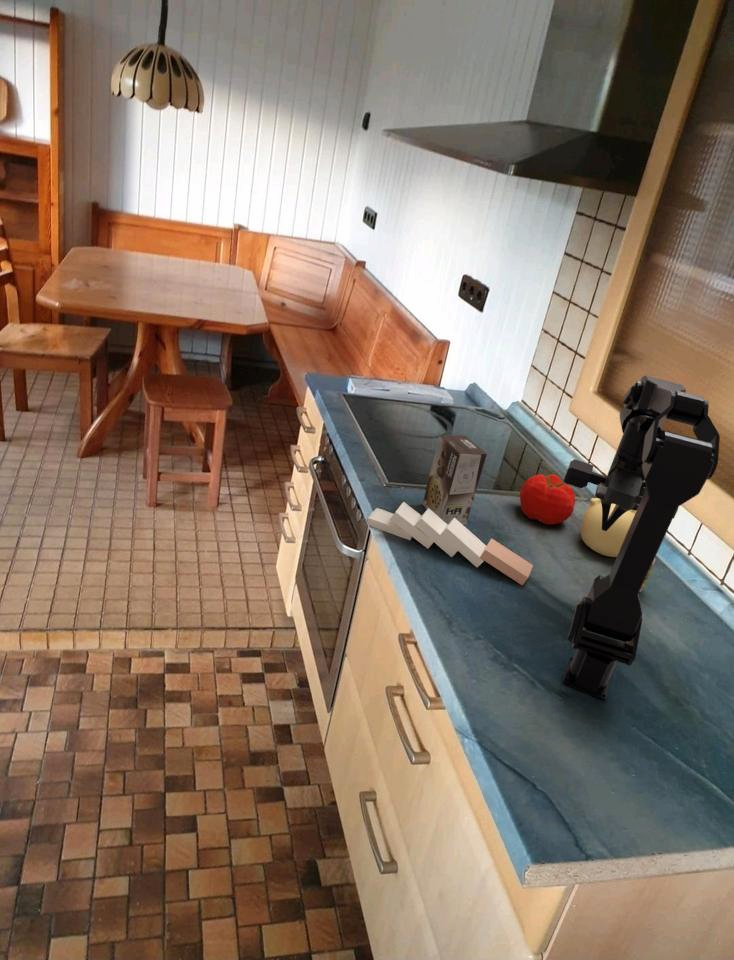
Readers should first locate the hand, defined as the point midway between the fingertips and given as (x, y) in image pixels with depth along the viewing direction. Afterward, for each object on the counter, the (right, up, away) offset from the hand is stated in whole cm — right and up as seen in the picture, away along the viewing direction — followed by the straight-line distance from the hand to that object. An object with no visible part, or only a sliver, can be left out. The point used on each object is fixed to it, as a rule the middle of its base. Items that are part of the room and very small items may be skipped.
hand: (604, 529), depth 124 cm
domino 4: (-20, -6, +6) cm, 22 cm away
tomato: (-4, +1, +29) cm, 29 cm away
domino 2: (-29, -2, +9) cm, 31 cm away
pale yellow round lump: (+7, -5, +22) cm, 23 cm away
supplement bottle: (+8, -11, +10) cm, 17 cm away
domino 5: (-13, -9, +4) cm, 16 cm away
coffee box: (-26, +2, +21) cm, 34 cm away
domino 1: (-33, -1, +11) cm, 34 cm away
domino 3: (-25, -4, +8) cm, 26 cm away
